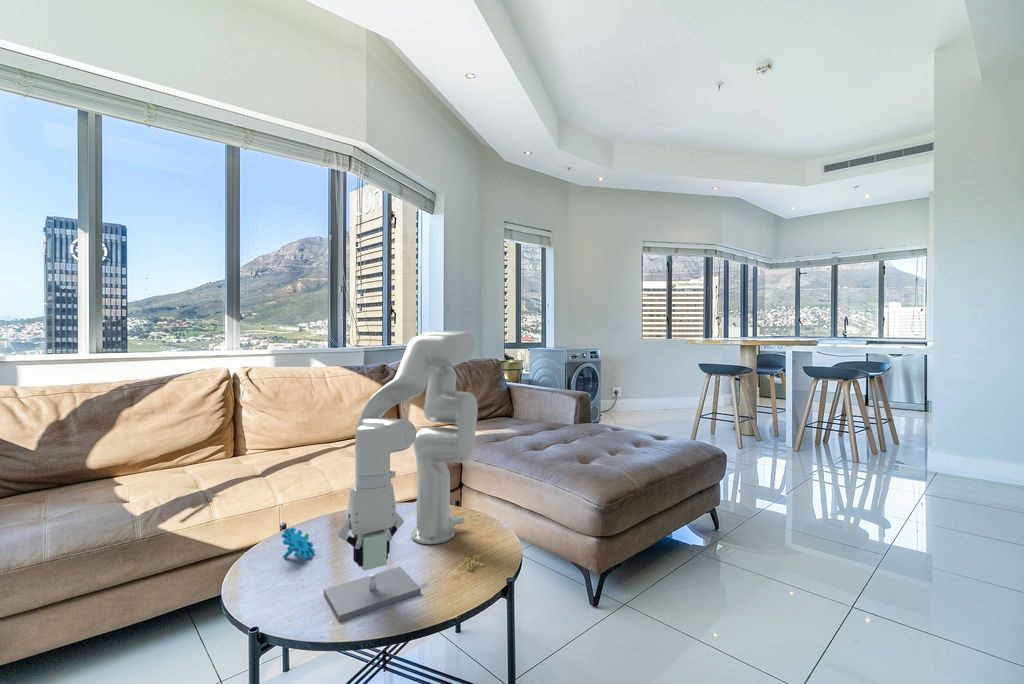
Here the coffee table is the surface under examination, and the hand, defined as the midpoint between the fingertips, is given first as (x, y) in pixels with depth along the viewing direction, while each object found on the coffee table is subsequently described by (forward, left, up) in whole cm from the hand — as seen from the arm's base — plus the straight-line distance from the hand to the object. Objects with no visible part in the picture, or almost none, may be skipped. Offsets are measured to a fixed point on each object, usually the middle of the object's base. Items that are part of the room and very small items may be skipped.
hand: (371, 559), depth 104 cm
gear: (+9, -29, -8) cm, 31 cm away
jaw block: (0, 0, -1) cm, 1 cm away
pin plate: (0, 0, -8) cm, 8 cm away
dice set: (-26, +1, -9) cm, 27 cm away
